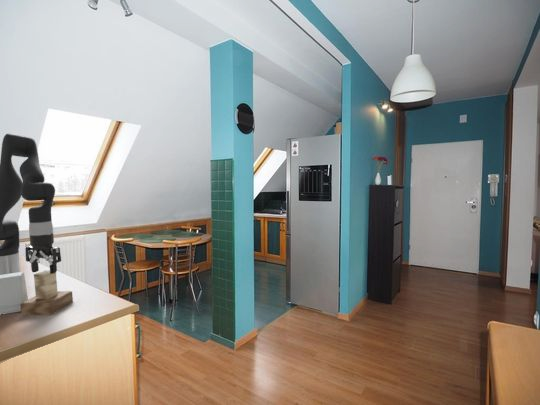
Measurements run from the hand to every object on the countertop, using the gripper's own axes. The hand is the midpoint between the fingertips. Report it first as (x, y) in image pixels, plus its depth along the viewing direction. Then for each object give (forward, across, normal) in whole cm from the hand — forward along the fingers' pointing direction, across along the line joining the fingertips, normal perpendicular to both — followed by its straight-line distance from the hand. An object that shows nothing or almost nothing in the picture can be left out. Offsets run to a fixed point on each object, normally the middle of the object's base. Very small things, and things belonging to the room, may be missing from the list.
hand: (44, 272), depth 119 cm
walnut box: (+15, 0, 0) cm, 15 cm away
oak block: (+10, 0, 0) cm, 10 cm away
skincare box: (+15, -12, -4) cm, 20 cm away
